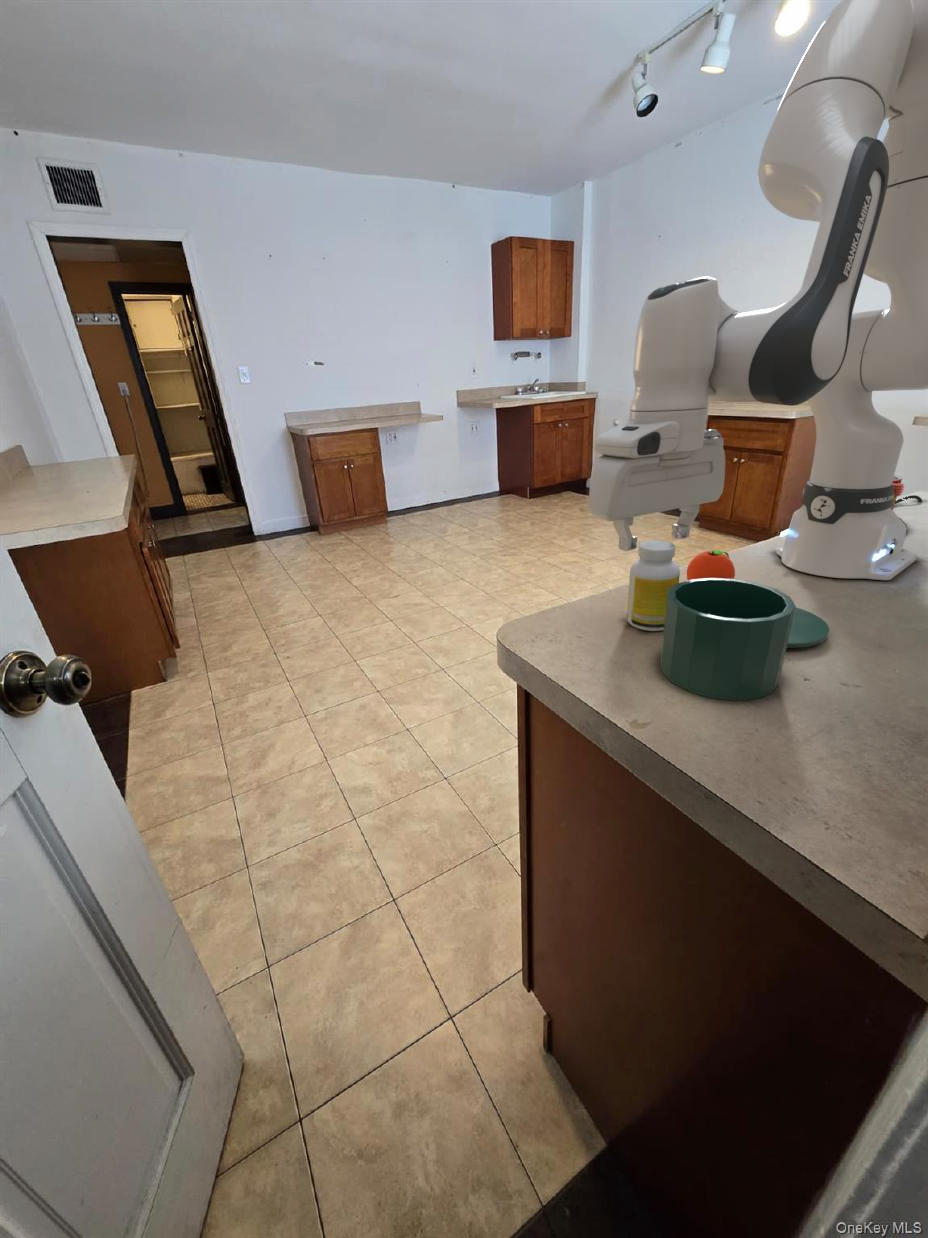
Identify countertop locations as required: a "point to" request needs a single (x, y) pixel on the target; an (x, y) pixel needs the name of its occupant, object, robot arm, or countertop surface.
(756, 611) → the tin
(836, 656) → the countertop surface
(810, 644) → the lid
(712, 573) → the clementine
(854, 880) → the countertop surface
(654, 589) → the pill bottle
